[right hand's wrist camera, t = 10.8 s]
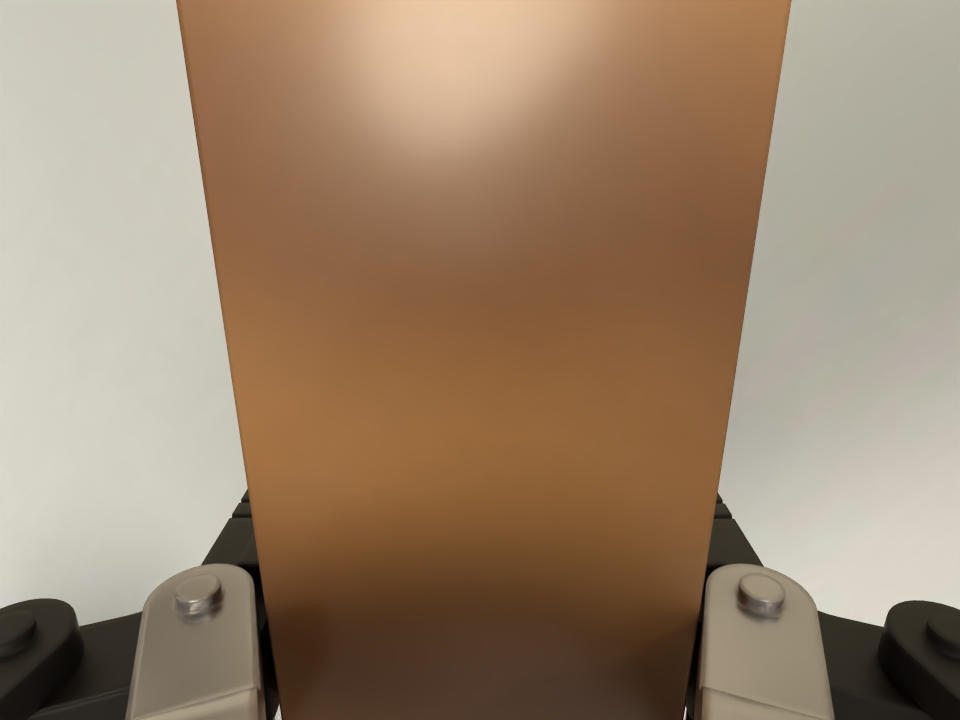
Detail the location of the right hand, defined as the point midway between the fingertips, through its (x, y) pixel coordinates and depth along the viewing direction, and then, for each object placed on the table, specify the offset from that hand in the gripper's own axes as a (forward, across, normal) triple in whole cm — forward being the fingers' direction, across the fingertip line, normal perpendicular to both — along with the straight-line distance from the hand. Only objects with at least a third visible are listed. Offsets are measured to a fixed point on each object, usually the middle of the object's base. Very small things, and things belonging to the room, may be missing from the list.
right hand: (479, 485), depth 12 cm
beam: (+3, 0, -29) cm, 29 cm away
